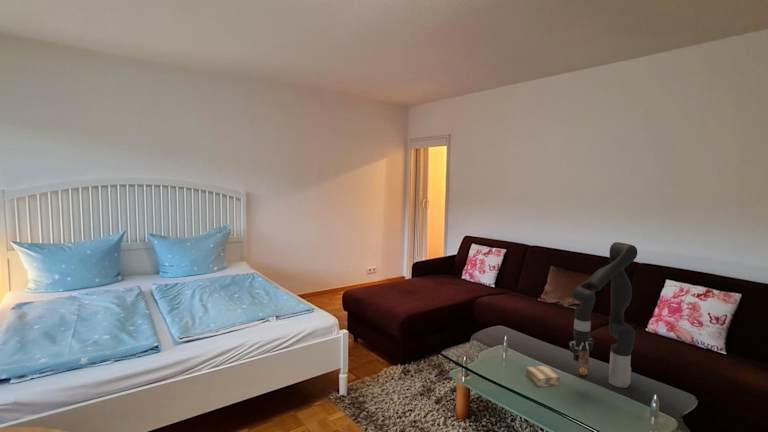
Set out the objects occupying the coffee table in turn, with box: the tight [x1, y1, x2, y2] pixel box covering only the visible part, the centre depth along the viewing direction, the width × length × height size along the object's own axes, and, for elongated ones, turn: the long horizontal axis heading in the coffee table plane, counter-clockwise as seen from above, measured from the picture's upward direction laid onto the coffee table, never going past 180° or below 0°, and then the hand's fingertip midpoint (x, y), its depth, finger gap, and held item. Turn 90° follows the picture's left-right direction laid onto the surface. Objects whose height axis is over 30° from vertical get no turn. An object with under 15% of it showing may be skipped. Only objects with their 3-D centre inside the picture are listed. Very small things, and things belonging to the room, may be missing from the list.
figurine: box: [578, 361, 593, 376], centre depth 215 cm, size 8×6×12 cm
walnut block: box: [572, 347, 590, 366], centre depth 198 cm, size 5×5×7 cm
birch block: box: [525, 365, 561, 388], centre depth 211 cm, size 12×12×5 cm
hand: (580, 359), depth 198 cm, fingers closed on walnut block, 5 cm apart
